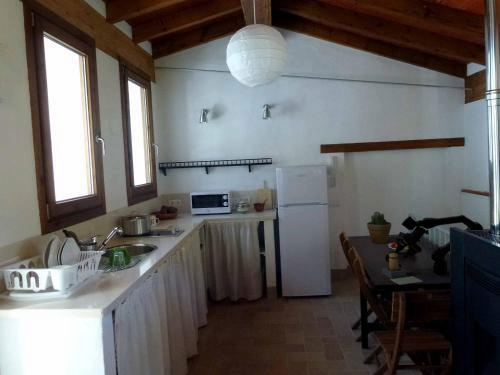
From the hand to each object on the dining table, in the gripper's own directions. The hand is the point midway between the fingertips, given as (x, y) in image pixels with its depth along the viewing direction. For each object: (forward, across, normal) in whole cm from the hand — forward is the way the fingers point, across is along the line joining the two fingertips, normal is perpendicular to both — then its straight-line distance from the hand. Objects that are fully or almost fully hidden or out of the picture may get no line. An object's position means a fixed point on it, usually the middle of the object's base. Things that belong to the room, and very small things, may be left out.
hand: (399, 255), depth 225 cm
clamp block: (+11, 0, +5) cm, 12 cm away
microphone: (+3, -19, +14) cm, 23 cm away
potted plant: (-14, -77, +30) cm, 84 cm away
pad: (+11, +12, +5) cm, 17 cm away
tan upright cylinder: (+10, 0, +5) cm, 11 cm away
